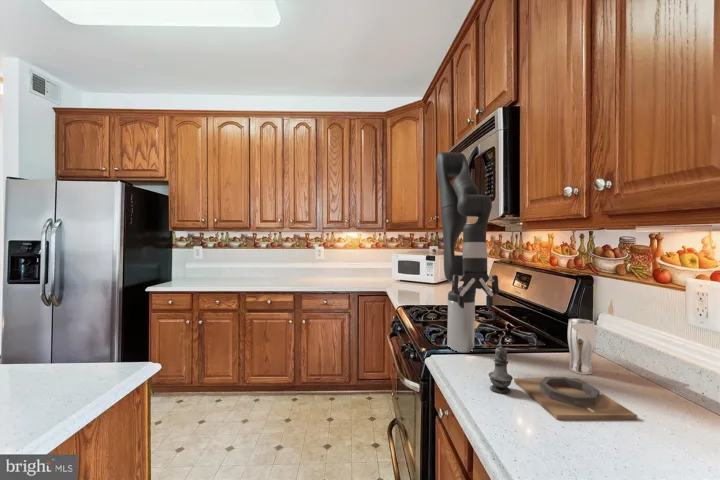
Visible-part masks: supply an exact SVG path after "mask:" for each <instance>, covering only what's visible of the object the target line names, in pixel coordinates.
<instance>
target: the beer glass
mask: <svg viewBox="0 0 720 480" xmlns="http://www.w3.org/2000/svg"><path fill="white" fill-rule="evenodd" d="M567 323H568V324H567V343H568V348H569V354H570V355H569V357H570V358H569V365H568V370H569V371H570V372H572V373H576V374H579V375H585V376H586V375H592V374H593V368H592V367H593V366H592V355H593V352H594V347H595V342H596V341H595V340H596V329H595V322H594V321H592V320H589V319H585V318H584V319H583V318H569V319H568V322H567Z"/></svg>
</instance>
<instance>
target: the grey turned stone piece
mask: <svg viewBox="0 0 720 480" xmlns="http://www.w3.org/2000/svg"><path fill="white" fill-rule="evenodd" d="M507 351H508V350H507V349H506V348H505V347H503V344H502V343H500V344H499V346H498V347H496V348H495V354H494V355H495V356H494V360H493V363H494V369H493V371H491V372H489V373H488V377H489V380H490V383H492V385H490V386H489V390H490V391H491V392H493V393H496V394H498V395H509V394H511V393H512V390H511V388H509V386H510V385H511V384H512V381H513V380H514V377H513V376H512V375H511V374H508V364H509V362H508V361H507V359H508V358H507V357H508V355H507V354H508V352H507Z"/></svg>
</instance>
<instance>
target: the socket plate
mask: <svg viewBox="0 0 720 480" xmlns="http://www.w3.org/2000/svg"><path fill="white" fill-rule="evenodd" d="M513 382H514V384H516V385H517V386H518V387H519V388H521V390H523V391H524V392H525V393H526V394H527V395H529V397H531V398H532V399H533V400H534V401H535V402H536V403H537V404H538V405H539V406H541V408H543V409H544V410H545V411H546V412H548V413H549V414H550V415H551V416H552V417H553V418H554V419H555V420H557V421H558V420H560V421H561V420H562V421H563V420H567V421H568V420H569V421H570V420H571V421H574V420H576V421H577V420H579V421H581V420H587V421H588V420H589V421H590V420H591V421H592V420H593V421H594V420H595V421H597V420H599V421H602V420H603V421H604V420H605V421H607V420H608V421H609V420H618V421H621V420H623V421H624V420H625V421H626V420H636V421H637V420H638V415H637V414H636V413H634V412H633V411H632V410H630V409H628V408H627V407H625V406H624V405H622V404H621V403H619V402H617V401H615V400H614V399H612V398H611V397H609V396H607V395H606V394H605V393H603V392H601V391H600V390H599V389H597V388H596V387H594V386H593V385H591V384H589V383H587V382H586V381H583V380H582V379H580V378H579V377H576V378H575V377H566V376H545V377H536V378H535V377H513Z"/></svg>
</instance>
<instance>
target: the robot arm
mask: <svg viewBox="0 0 720 480" xmlns="http://www.w3.org/2000/svg"><path fill="white" fill-rule="evenodd" d="M435 169H436V175H437V176H436V177H437V182H438V183H437V184H438V189H439V197H440V198H439V200H440V201H439V202H440V218H441V227H442V235H443V237H442V238H443V239H442V240H443V271H444V278H445V279H446V281H448V282H451V290H450V291H448V293H447V334H446V338H447V339H446V340H447V341H446V342H447V343H446V347H447V346H448V347H450V348H451V349H453V350H455V351H457V352H456V353H465V354H466V353H471V352H470V351H471V350H473V348H474V349H475V321H476V320H475V318H476V292H477V290H482V291H483V292H484V293H485V294H486V296H485V298H486V299H485V301H486V305H485V306H486V307H485V308H487V309H491V308H492V307H493V306H494V296H496V295H499V293H500V287H499V277H498V275H496V274H491V275H488V256H489V255H488V246H487V228H488V222H489V218H490V214H491V212H492V208H493V202H492V199H491V197H489V196H488V195H486V194H479V193H480V192H479V189H478V187H477V185H476V183H475V181H474V180H473V178H472V175H471V171H470V167H469V164H468V160H467V157H466V155H465V154H464V153H462V152H451V151H450V152H448V151H446V152H439V153H437V156H436V161H435ZM449 177H455V179H454V181H453V185H452V183H451V181H450V178H449ZM468 217H469V218H470V217H477V220H476V222H474V223H469V224H467V222H468ZM461 233H462V234H463V235H462V239H463V240H462V241H463V242H462V255H461V254H460V255H459V254H455V247H456V243H457V242H458V239H459V238H460V235H461ZM488 281H489V282H490V283H491V288H490V286H489V285H488V284H487V282H488ZM460 282H463V283H462V285H460V286H459V283H460ZM455 351H454V352H455Z"/></svg>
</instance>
